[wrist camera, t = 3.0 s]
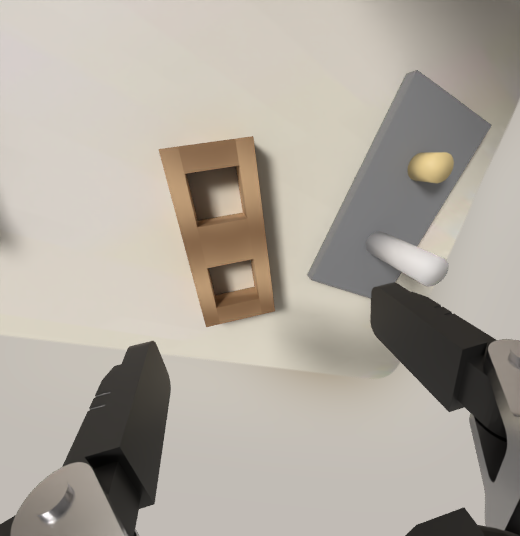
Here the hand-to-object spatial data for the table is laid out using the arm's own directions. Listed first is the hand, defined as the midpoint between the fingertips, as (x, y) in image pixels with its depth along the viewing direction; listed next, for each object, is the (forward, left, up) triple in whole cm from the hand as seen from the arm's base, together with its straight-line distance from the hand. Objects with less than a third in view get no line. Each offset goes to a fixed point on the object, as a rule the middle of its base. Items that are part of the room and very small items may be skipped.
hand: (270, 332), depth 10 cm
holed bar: (-1, 0, -12) cm, 12 cm away
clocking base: (+11, +7, -12) cm, 18 cm away
